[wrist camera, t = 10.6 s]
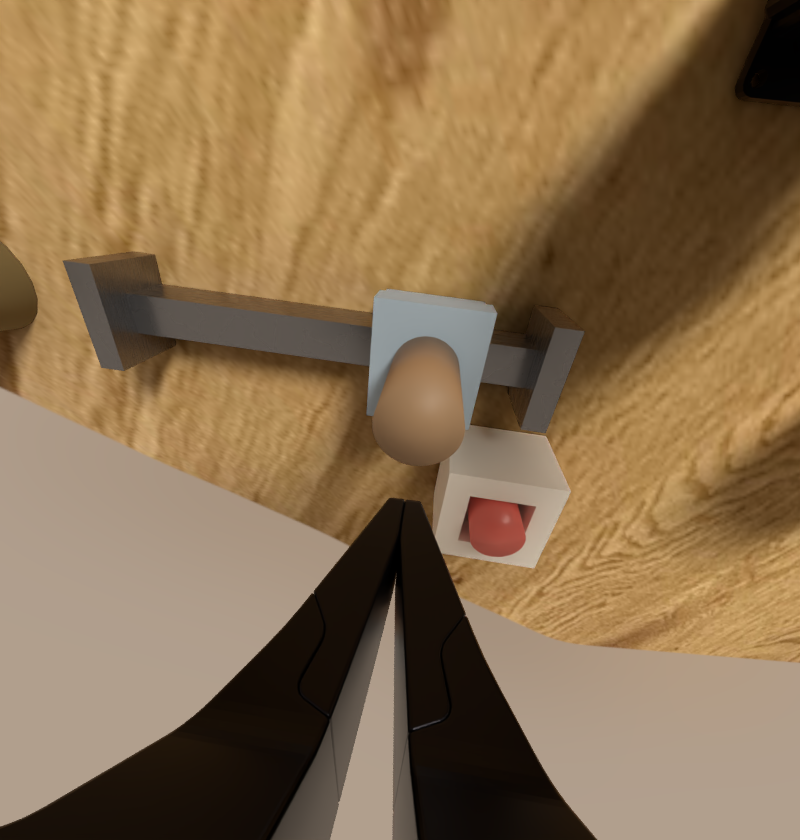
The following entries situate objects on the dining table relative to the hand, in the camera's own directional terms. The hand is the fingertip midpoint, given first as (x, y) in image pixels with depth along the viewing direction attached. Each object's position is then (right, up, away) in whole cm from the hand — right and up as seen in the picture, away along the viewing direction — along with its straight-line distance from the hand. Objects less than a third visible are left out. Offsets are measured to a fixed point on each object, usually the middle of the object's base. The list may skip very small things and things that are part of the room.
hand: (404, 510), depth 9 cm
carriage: (+1, +7, +10) cm, 12 cm away
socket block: (+6, -1, +14) cm, 15 cm away
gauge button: (+5, -2, +12) cm, 13 cm away
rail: (-3, +8, +10) cm, 13 cm away
